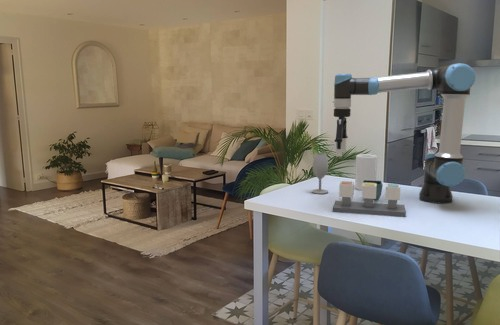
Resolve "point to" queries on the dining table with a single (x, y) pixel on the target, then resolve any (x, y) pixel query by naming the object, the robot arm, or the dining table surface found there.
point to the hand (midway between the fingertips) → (340, 154)
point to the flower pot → (378, 189)
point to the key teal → (392, 192)
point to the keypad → (369, 207)
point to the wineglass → (320, 170)
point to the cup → (365, 169)
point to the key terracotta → (346, 189)
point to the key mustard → (369, 190)
